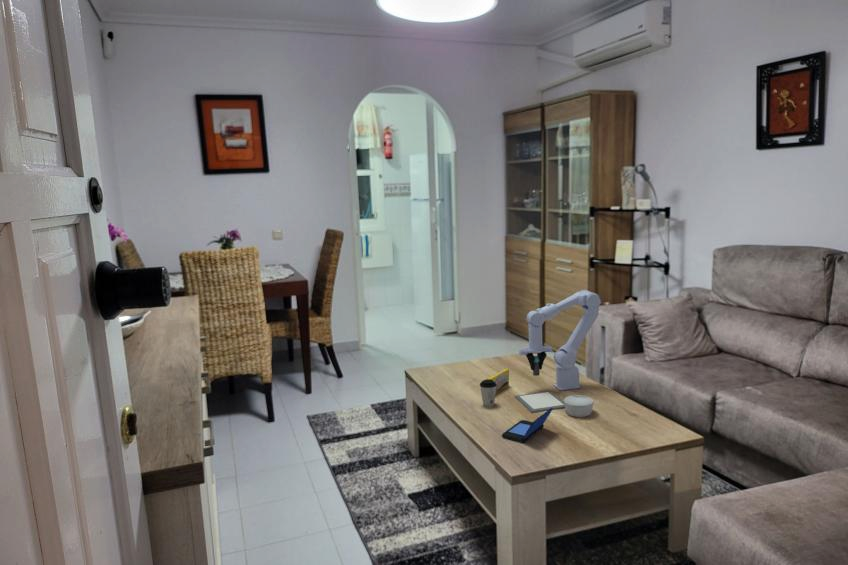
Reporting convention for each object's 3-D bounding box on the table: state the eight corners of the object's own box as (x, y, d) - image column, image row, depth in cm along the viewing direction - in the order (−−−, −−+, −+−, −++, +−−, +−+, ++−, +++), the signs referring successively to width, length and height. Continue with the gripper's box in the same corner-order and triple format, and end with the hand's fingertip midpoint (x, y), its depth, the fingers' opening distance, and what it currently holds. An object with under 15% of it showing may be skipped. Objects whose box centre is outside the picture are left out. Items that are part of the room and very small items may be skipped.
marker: (538, 373, 251) (537, 355, 250) (540, 375, 248) (540, 357, 247) (531, 373, 251) (531, 356, 249) (534, 376, 248) (534, 358, 247)
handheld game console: (521, 423, 218) (521, 399, 216) (554, 430, 210) (554, 406, 208) (500, 438, 206) (499, 413, 204) (534, 447, 198) (533, 421, 196)
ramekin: (593, 408, 228) (593, 395, 227) (593, 419, 217) (593, 406, 216) (564, 406, 231) (564, 394, 230) (563, 417, 220) (563, 404, 220)
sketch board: (549, 392, 247) (549, 390, 247) (569, 407, 230) (569, 405, 230) (514, 397, 244) (514, 395, 244) (531, 412, 226) (531, 410, 226)
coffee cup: (496, 408, 233) (495, 384, 231) (479, 407, 234) (478, 384, 233) (497, 401, 240) (497, 378, 238) (481, 401, 241) (480, 378, 240)
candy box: (491, 398, 245) (490, 379, 243) (486, 397, 246) (486, 378, 244) (509, 386, 257) (509, 368, 256) (505, 385, 259) (504, 367, 257)
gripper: (523, 343, 242) (523, 374, 244) (555, 339, 244) (555, 370, 247) (517, 338, 248) (517, 369, 251) (548, 335, 251) (548, 365, 253)
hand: (536, 369), depth 249 cm, fingers closed on marker, 3 cm apart
